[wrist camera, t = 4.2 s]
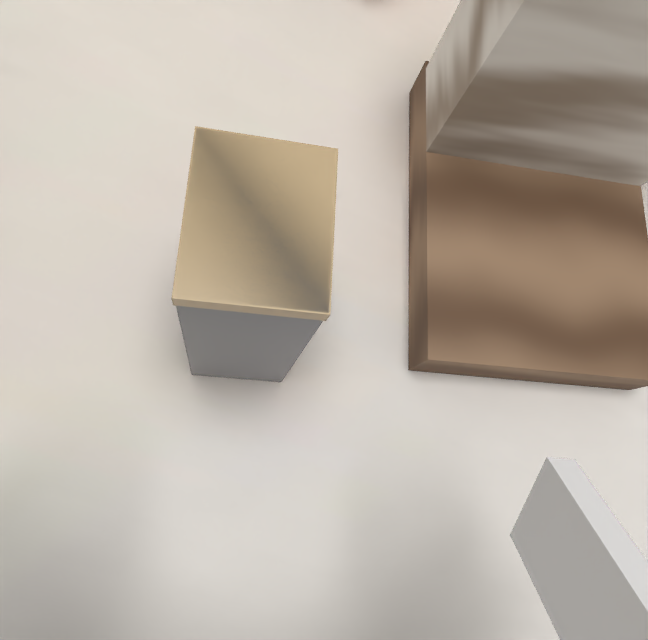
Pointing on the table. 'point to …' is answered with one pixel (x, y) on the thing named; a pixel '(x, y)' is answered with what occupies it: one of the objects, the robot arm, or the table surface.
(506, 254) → the stand
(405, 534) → the table surface
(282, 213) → the case
